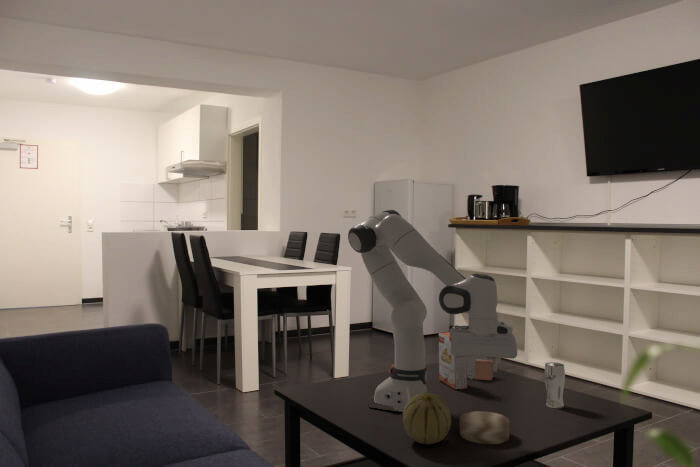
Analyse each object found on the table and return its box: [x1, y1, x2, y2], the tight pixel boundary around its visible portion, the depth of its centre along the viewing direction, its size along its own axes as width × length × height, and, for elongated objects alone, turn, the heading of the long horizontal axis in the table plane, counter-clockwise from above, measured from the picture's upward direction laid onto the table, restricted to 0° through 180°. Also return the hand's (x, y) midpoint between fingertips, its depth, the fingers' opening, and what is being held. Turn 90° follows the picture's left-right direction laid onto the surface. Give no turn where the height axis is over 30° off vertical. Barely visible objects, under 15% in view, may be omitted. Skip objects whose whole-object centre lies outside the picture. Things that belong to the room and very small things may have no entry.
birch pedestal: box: [459, 410, 510, 445], centre depth 173 cm, size 15×15×5 cm
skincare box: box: [467, 356, 488, 380], centre depth 244 cm, size 10×6×10 cm, turn 128°
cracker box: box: [438, 331, 468, 390], centre depth 230 cm, size 14×6×21 cm, turn 17°
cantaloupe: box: [402, 392, 452, 445], centre depth 168 cm, size 15×15×15 cm
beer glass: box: [544, 361, 566, 409], centre depth 201 cm, size 7×7×15 cm
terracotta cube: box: [474, 359, 494, 381], centre depth 173 cm, size 5×5×5 cm
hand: (483, 370), depth 173 cm, fingers closed on terracotta cube, 5 cm apart
